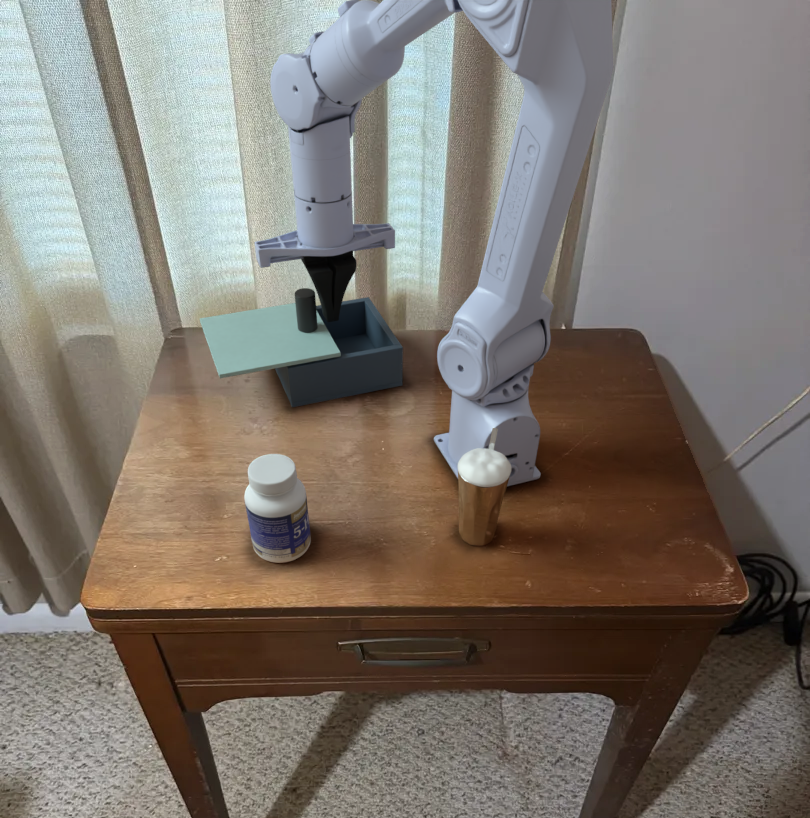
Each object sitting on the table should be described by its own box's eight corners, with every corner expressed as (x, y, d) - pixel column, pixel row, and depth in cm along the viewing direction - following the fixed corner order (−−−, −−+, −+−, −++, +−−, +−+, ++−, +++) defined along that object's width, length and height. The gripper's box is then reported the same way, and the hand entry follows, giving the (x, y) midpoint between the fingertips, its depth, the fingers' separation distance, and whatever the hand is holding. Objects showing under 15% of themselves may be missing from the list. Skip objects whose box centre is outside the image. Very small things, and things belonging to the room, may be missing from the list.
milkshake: (508, 517, 72) (521, 433, 64) (494, 556, 68) (506, 472, 61) (462, 506, 73) (470, 422, 65) (446, 544, 69) (452, 459, 62)
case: (402, 385, 87) (403, 347, 83) (292, 407, 83) (287, 368, 80) (369, 333, 94) (368, 296, 91) (267, 352, 91) (262, 314, 88)
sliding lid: (340, 356, 81) (338, 316, 78) (219, 378, 78) (212, 338, 74) (311, 303, 89) (308, 265, 86) (200, 322, 86) (192, 283, 82)
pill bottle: (307, 565, 67) (299, 490, 61) (248, 563, 67) (233, 489, 61) (314, 523, 71) (306, 449, 64) (258, 522, 71) (245, 447, 64)
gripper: (379, 169, 79) (380, 290, 89) (241, 185, 75) (258, 310, 85) (402, 194, 74) (401, 319, 84) (257, 213, 71) (273, 342, 80)
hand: (330, 317), depth 84 cm, fingers closed
